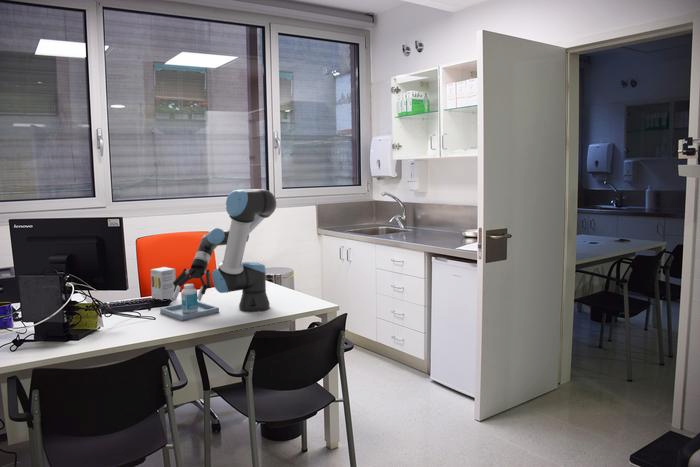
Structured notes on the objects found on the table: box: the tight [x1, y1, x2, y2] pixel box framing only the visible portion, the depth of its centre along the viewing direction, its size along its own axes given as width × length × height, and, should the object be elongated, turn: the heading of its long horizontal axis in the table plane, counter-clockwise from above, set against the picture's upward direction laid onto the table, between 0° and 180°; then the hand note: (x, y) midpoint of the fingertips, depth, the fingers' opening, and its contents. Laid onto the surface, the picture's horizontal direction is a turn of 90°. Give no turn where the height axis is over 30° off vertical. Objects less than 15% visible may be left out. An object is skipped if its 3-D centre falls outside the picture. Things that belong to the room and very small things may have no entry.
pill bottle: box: [180, 283, 199, 313], centre depth 263 cm, size 8×7×14 cm
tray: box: [159, 300, 220, 322], centre depth 264 cm, size 20×20×2 cm
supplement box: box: [150, 266, 177, 301], centre depth 289 cm, size 10×9×17 cm
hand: (186, 298), depth 261 cm, fingers open, 12 cm apart
